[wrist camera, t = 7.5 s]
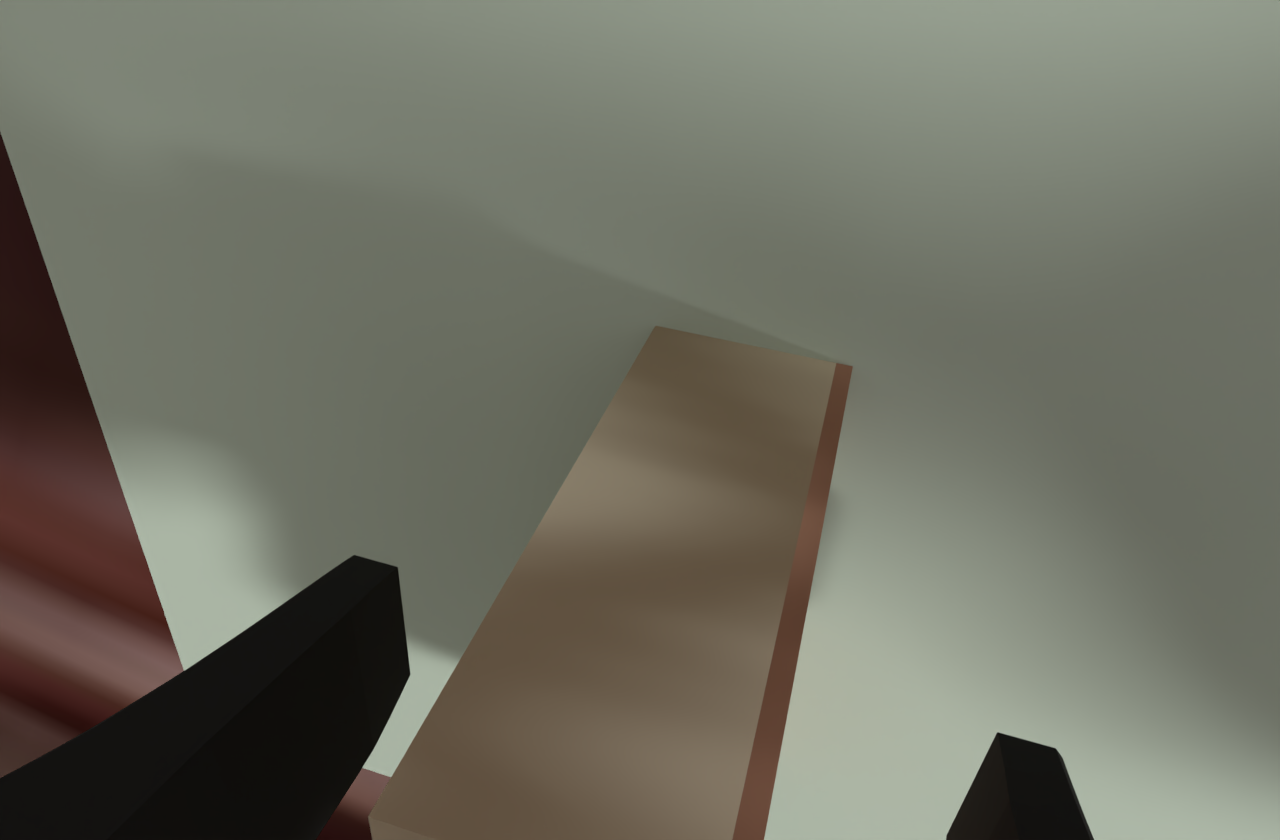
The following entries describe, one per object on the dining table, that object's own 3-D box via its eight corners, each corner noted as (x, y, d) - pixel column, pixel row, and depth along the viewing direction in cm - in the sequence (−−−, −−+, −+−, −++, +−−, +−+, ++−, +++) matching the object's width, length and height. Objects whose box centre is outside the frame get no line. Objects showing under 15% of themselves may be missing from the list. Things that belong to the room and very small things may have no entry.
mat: (2102, -106, 6) (2162, -103, 6) (1132, 995, 17) (1136, 1019, 17) (-113, -295, 10) (-147, -298, 10) (210, 700, 21) (199, 714, 20)
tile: (853, 366, 11) (743, 941, 5) (756, 757, 16) (645, 1285, 10) (654, 325, 11) (366, 816, 6) (619, 717, 16) (439, 1199, 10)
